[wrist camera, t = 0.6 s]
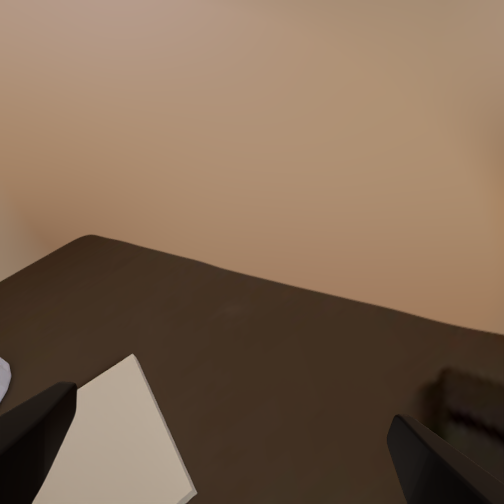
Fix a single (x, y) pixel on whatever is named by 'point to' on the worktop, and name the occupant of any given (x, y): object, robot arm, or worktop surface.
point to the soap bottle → (4, 377)
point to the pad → (117, 447)
